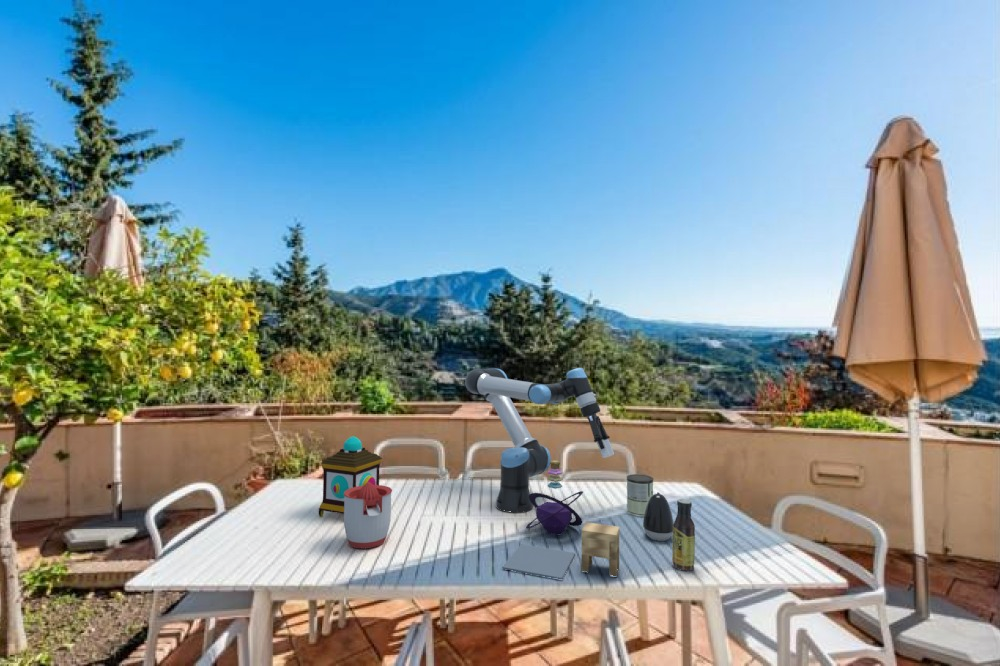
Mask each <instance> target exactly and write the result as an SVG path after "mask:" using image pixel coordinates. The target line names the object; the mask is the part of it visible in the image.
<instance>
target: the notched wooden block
mask: <svg viewBox="0 0 1000 666" xmlns="http://www.w3.org/2000/svg"><path fill="white" fill-rule="evenodd" d="M593 557H594V558H602V559H607V560H608V561H609V562H608V563H609V566H608V569H609V571H608V572H609V573H608V575H613V576H617V577H618V570H620V526H616V525H608V524H600V523H593V522H588V521H587V522H585V523H584V525H583V527H582V529H581V571H587V572H588V571H589V572H590V570H589V569H590V567H591V566H592V565H593ZM590 565H591V566H590ZM617 569H618V570H617Z"/></svg>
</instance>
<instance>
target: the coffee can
mask: <svg viewBox="0 0 1000 666" xmlns="http://www.w3.org/2000/svg"><path fill="white" fill-rule="evenodd" d="M626 492H627V493H626V499H627V500H626V502H627V503H626V507H627V509H626V512H627V513H628V514H629V515H631V516H634V517H640V518H644V514H645V510H646V506H647V503H648V501H649V499H650V498H651V496H652V495H654V478H653V477H652V476H650V475H646V474H641V473H640V474H637V473H636V474H628V475H626Z"/></svg>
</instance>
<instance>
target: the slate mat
mask: <svg viewBox="0 0 1000 666" xmlns="http://www.w3.org/2000/svg"><path fill="white" fill-rule="evenodd" d="M575 557H576V552H572V551H567V550H560V549H554V548H549V547H548V548H547V547H540V546H536V545H530V544H523V543H520V544H519V546H518V547H517V548H516V549H515V551H514V552H513V553H512V554H511V556H510V557H509V558H508V559H507V560H506V562H505V563H504V564H503V565H502V566H501V569H502V568H503V569H507V570H513V571H516V572H515V573H517V572H521V573H520V574H522V573H527V574H526V575H528V574H532V575H531V576H533V575H539V576H545V577H551V578H558V579H563V580H564V578H565V576H566V574H567V572H568V570H569V569H568V568H570V567H571V565H572V562H573V560H575ZM570 564H571V565H570ZM569 566H570V567H569ZM566 571H567V572H566ZM565 573H566V574H565ZM564 575H565V576H564ZM539 576H538V577H539ZM563 577H564V578H563Z"/></svg>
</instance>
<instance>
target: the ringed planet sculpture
mask: <svg viewBox="0 0 1000 666" xmlns="http://www.w3.org/2000/svg"><path fill="white" fill-rule="evenodd" d="M560 465H561V462H560V461H558V460H553V459H551V461H550V469H548V470H547V474H550V475H549V477H547V480H548V481H549V483H548V484H547V487H548V488H551V489H555V490H556V489H561V488H563V485H562V484H561V482H562V480H563V478H562V477H561V476H560V475H561V474H563V471H562V470H561V469H560ZM583 494H584V491H578V492H576V493H573V494H571V495H569V496H567V497H566V498H564V499H562V500H560V499H558V498H555V497H553V496H550V495H549V494H548V495H547V494H545V493H539V492H532V493H530V495H529V500H530V502H531V503H532V504H533V507H534V508H536V510H535V511H536V517H535V518H534V519H532V520H531V521H530V522H529V523H528V524H527V525H526V526H525V528H524V529H525V530H529V529H531V528H534V527H536V526H539V525H541V526H542V528H543V529H544V530H545V531H546V533H547V534H548V535H557V534H561V535H562V534H563V532H564V531H565V530H566V529H567V527H568V526H570V527H571V526H572V527H580V526H582V524H583V519H582V517H581V516H580V514H578V513H577V511H575V509H573V508H572V507H571V506H570V505H571V504H572V503H574V502H575V501H576V500H578V499H579V497H581V496H582V495H583ZM575 496H576V497H575ZM572 497H575V498H573V500H572V501H570V502H569V503H565V501H566V500H568V499H570V498H572ZM537 498H543V499H547V500H550V501H545V502H544V503H541V504H539V505H538V504H537V503H536V499H537ZM573 516H574V517H575V520H574V521H573ZM536 520H537V521H538V522H537V523H535V524H533V522H535V521H536Z"/></svg>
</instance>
